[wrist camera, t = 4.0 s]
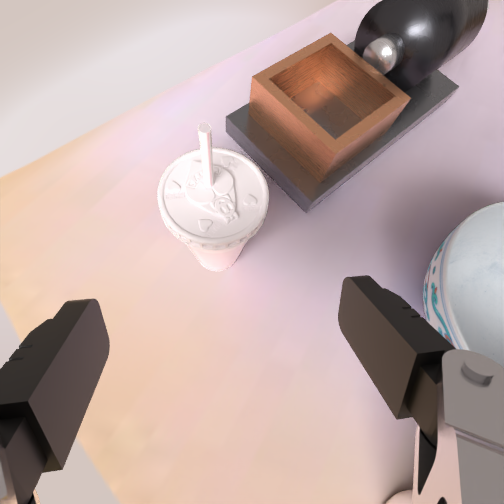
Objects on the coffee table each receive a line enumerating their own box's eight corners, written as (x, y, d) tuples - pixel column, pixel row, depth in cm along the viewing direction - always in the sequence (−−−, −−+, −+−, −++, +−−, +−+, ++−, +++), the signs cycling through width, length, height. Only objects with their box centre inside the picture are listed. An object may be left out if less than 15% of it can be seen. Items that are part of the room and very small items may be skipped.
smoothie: (228, 206, 27) (234, 63, 14) (267, 262, 25) (315, 160, 12) (166, 239, 25) (105, 113, 12) (204, 301, 24) (181, 232, 11)
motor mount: (371, 42, 37) (422, -65, 28) (446, 101, 34) (529, 6, 25) (225, 131, 30) (227, 28, 21) (306, 213, 27) (349, 138, 18)
